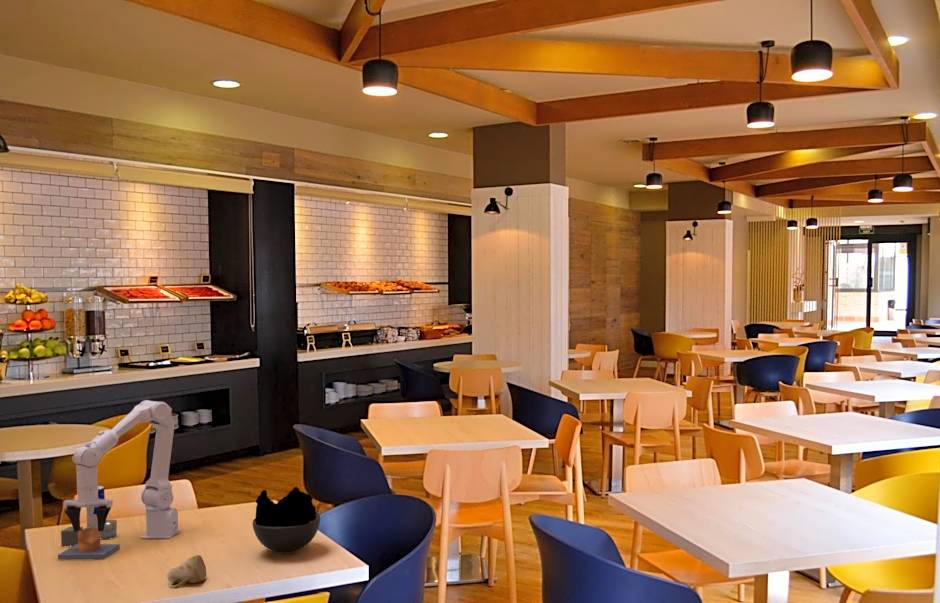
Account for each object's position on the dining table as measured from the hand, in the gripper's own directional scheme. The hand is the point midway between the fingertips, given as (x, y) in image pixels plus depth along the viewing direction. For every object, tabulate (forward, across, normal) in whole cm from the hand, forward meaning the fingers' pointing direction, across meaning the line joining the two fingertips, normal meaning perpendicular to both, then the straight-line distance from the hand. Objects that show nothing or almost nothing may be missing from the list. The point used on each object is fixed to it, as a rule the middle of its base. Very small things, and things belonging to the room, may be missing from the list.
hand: (89, 530), depth 249 cm
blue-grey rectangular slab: (+7, 0, 0) cm, 7 cm away
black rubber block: (+7, -11, +10) cm, 17 cm away
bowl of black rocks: (+8, +61, +1) cm, 61 cm away
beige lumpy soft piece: (+8, +40, -25) cm, 48 cm away
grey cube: (+7, -3, +17) cm, 19 cm away
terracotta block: (+6, 0, 0) cm, 6 cm away
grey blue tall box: (+8, -10, +23) cm, 26 cm away
